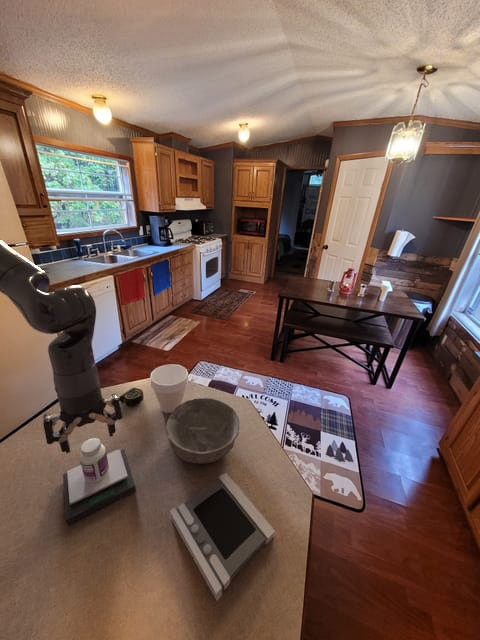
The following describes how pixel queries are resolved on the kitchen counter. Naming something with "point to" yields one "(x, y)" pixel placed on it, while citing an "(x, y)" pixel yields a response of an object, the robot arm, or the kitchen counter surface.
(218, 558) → the alarm clock
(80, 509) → the scale
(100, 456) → the pill bottle
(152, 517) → the kitchen counter surface
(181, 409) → the bowl
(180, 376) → the cup
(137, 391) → the tape measure
